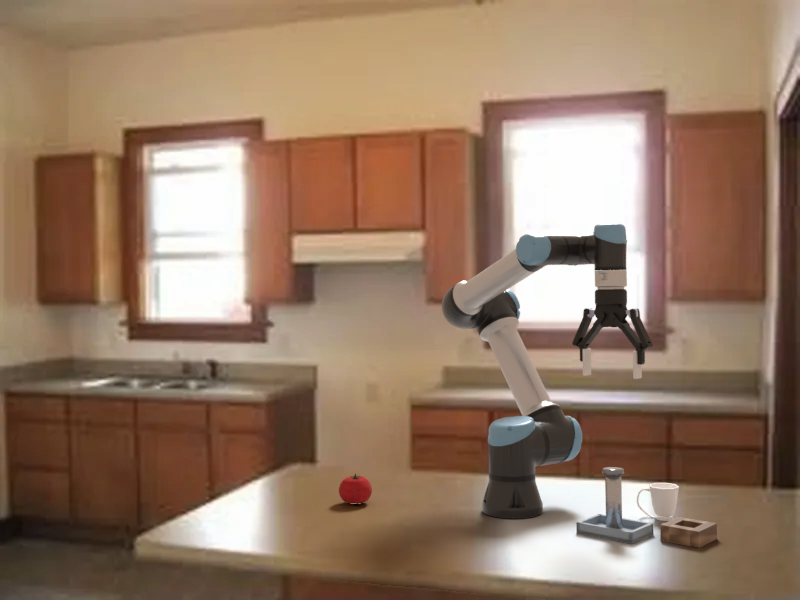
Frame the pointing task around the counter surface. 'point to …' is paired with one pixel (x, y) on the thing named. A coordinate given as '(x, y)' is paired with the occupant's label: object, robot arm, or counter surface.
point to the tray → (628, 534)
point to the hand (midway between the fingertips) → (611, 376)
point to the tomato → (355, 489)
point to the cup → (662, 500)
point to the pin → (613, 496)
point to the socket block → (688, 532)
